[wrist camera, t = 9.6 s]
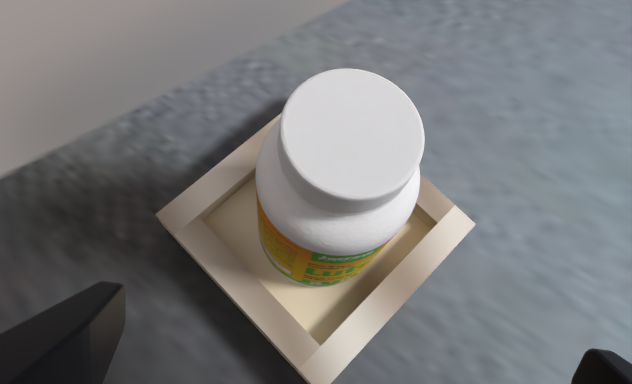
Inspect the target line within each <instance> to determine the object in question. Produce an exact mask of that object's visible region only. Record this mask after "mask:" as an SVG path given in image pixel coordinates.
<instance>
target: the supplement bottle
mask: <svg viewBox="0 0 632 384" xmlns="http://www.w3.org/2000/svg"><path fill="white" fill-rule="evenodd" d="M423 150H424V129H423V125H422V121H421V118H420V116H419V113H418V111H417V109H416V108H415V106H414V104H413V103H412V101H411V100H410V98H409V97H408V96H407V95H406V94H405V93H404V92H403V91H402V90H401V89H400V88H399V87H397V86H396V85H395V84H393V83H392V82H390V81H389V80H387V79H385V78H383V77H381V76H379V75H377V74H374V73H371V72H368V71H364V70H359V69H335V70H330V71H326V72H322V73H319V74H317V75H315V76H313V77H311V78H309V79H308V80H306V81H305V82H303V83H302V84H301V85H300V86H299V87H297V88H296V89H295V91H294V92H293V93H292V94H291V96H290V97H289V99H288V100H287V102H286V104H285V106H284V108H283V111H282V114H281V118H280V119H279V120H278V121H277V122H276V123H275V124H274V125H273V126H272V128H271V129H270V130H269V132H268V133H267V135H266V137H265V138H264V140H263V143H262V145H261V147H260V150H259V153H258V157H257V163H256V178H255V181H256V198H257V215H258V232H259V238H260V242H261V246H262V248H263V251H264V253H265V255H266V257H267V259H268V260H269V262H270V263H271V264H272V265H273V267H274V268H275V269H276V270H277V271H278V272H280V273H281V274H282V275H284V276H285V277H286V278H288V279H290V280H292V281H294V282H296V283H298V284H301V285H305V286H310V287H329V286H334V285H338V284H340V283H343V282H345V281H347V280H349V279H351V278H352V277H354V276H355V275H356V274H358V273H359V272H360V271H361V270H363V269H364V268H365V266H366V265H367V264H368V263H369V262H370V261H371V260H372V259H373V258H374V257H375V256H376V255H377V254H378V253H379V252H380V251H381V250H382V249H383V248H384V246H385V245H386V244H387V243H388V242H389V241H390V240H391V239H392V238H393V237H394V236H395V235H396V234H397V233H398V231H399V230H400V229H401V228H402V227H403V225H404V224H405V223H406V221H407V220H408V218H409V217H410V215H411V213H412V211H413V209H414V207H415V204H416V201H417V198H418V194H419V188H420V170H419V163H420V161H421V158H422V154H423Z"/></svg>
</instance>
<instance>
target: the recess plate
mask: <svg viewBox="0 0 632 384" xmlns="http://www.w3.org/2000/svg"><path fill="white" fill-rule="evenodd" d="M281 114H282V113H281ZM281 114H279V115H278V116H277V117H276V118H274V119H273V120H272V121H271V122H269V123H268V124H267V125H266V126H264V127H263V128H262V129H261V130H259V131H258V132H257V133H256V134H254V135H253V136H252V137H251V138H249V139H248V140H247V141H246V142H244V143H243V144H242V145H241V146H240V147H238V148H237V149H236V150H235V151H233V152H232V153H231V154H230V155H228V156H227V157H226V158H225V159H223V160H222V161H221V162H220V163H218V164H217V165H216V166H215V167H213V168H212V169H211V170H210V171H208V172H207V173H206V174H205V175H203V176H202V177H201V178H200V179H199V180H197V181H196V182H195V183H194V184H192V185H191V186H190V187H189V188H187V189H186V190H185V191H184V192H182V193H181V194H180V195H179V196H177V197H176V198H175V199H174V200H172V201H171V202H170V203H169V204H167V205H166V206H165V207H164V208H162V209H161V210H160V211H159V212H158V213H156V214H155V215H156V216H157V218H158V219H159V220H160V222H161V223H162V225H163V226H164V227H165V229H166V230H167V231H168V232H169V233H170V234H171V235H172V236H173V237H174V238H175V239H176V240H177V242H178V243H179V244H180V245H181V246H182V247H183V248H184V249H185V250H186V251H187V252H188V254H189V255H190V256H191V257H192V258H193V259H194V260H195V261H196V262H197V263H198V264H199V266H200V267H201V268H202V269H203V270H204V271H205V272H206V273H207V274H208V275H209V276H210V277H211V279H212V280H213V281H214V282H215V283H216V284H217V285H218V286H219V287H220V288H221V289H222V291H223V292H224V293H225V294H226V295H227V296H228V297H229V298H230V299H231V300H232V301H233V303H234V304H235V305H236V306H237V307H238V308H239V309H240V310H241V311H242V312H243V313H244V314H245V316H246V317H247V318H248V319H249V320H250V321H251V322H252V323H253V324H254V325H255V326H256V328H257V329H258V330H259V331H260V332H261V333H262V334H263V335H264V336H265V337H266V338H267V340H268V341H269V342H270V343H271V344H272V345H273V346H274V347H275V348H276V349H277V350H278V351H279V353H280V354H281V355H282V356H283V357H284V358H285V359H286V360H287V361H288V362H289V363H290V365H291V366H292V367H293V368H294V369H295V370H296V371H297V372H298V373H299V374H300V375H301V376H302V378H303V379H304V380H305V381H306V382H307V383H308V384H331V382H332V381H333V380H334V379H335V378H336V377H337V376H338V375H339V374H340V373H341V372H342V370H343V369H344V368H345V367H346V366H347V365H348V364H349V363H350V362H351V361H352V359H353V358H354V357H355V356H356V355H357V354H358V353H359V352H360V351H361V350H362V349H363V347H364V346H365V345H366V344H367V343H368V342H369V341H370V340H371V339H372V338H373V336H374V335H375V334H376V333H377V332H378V331H379V330H380V329H381V328H382V327H383V326H384V324H385V323H386V322H387V321H388V320H389V319H390V318H391V317H392V316H393V315H394V313H395V312H396V311H397V310H398V309H399V308H400V307H401V306H402V305H403V304H404V302H405V301H406V300H407V299H408V298H409V297H410V296H411V295H412V294H413V293H414V292H415V290H416V289H417V288H418V287H419V286H420V285H421V284H422V283H423V282H424V281H425V279H426V278H427V277H428V276H429V275H430V274H431V273H432V272H433V271H434V270H435V269H436V267H437V266H438V265H439V264H440V263H441V262H442V261H443V260H444V259H445V258H446V256H447V255H448V254H449V253H450V252H451V251H452V250H453V249H454V248H455V247H456V246H457V244H458V243H459V242H460V241H461V240H462V239H463V238H464V237H465V236H466V235H467V233H468V232H469V231H470V230H471V229H472V228H473V227H474V226H475V225H476V224H475V223H474V222H473V221H472V220H471V219H470V218H469V217H468V216H466V215H465V214H464V213H463V212H462V211H461V210H460V209H459V208H458V207H457V206H456V205H454V204H453V203H452V202H451V201H450V200H449V199H448V198H447V197H446V196H445V195H444V194H442V193H441V192H440V191H439V190H438V189H437V188H436V187H435V186H434V185H433V184H432V183H430V182H429V181H428V180H427V179H426V178H425V177H424V176H423V175H422V174H421V173H420V188H419V194H418V198H417V201H416V204H415V207H414V209H413V211H412V213H411V215H410V217H409V218H408V220H407V221H406V223H405V224H404V225H403V227H402V228H401V229H400V230H399V231H398V233H397V234H396V235H395V236H394V237H393V238H392V239H391V240H390V241H389V242H388V243H387V244H386V245H385V246H384V248H383V249H382V250H381V251H380V252H379V253H378V254H377V255H376V256H375V257H374V258H373V259H372V260H371V261H370V262H369V263H368V264H367V265H366V266H365V268H364V269H363V270H361V271H360V272H359V273H358V274H356V275H355V276H354V277H352V278H351V279H349V280H347V281H345V282H343V283H340V284H338V285H334V286H329V287H310V286H305V285H301V284H298V283H296V282H294V281H292V280H290V279H288V278H286V277H285V276H284V275H282V274H281V273H280V272H278V271H277V270H276V269H275V268H274V267H273V265H272V264H271V263H270V262H269V260H268V259H267V257H266V255H265V253H264V251H263V248H262V246H261V242H260V238H259V232H258V215H257V198H256V181H255V178H256V163H257V157H258V153H259V150H260V147H261V145H262V143H263V140H264V138H265V137H266V135H267V133H268V132H269V130H270V129H271V128H272V126H273V125H274V124H275V123H276V122H277V121H278V120H279V119H280V118H281Z"/></svg>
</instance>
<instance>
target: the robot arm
mask: <svg viewBox="0 0 632 384" xmlns="http://www.w3.org/2000/svg"><path fill="white" fill-rule="evenodd" d="M124 325H125V287H124V286H123V285H122V284H121V283H114V282H107V281H101V282H98V283H96V284H94V285H92V286H91V287H89V288H87V289H85V290H83V291H81V292H79V293H77V294H75V295H73V296H71V297H70V298H68V299H66V300H64V301H62V302H60V303H58V304H56V305H54V306H52V307H50V308H49V309H47V310H45V311H43V312H41V313H39V314H37V315H35V316H33V317H31V318H29V319H28V320H26V321H24V322H22V323H20V324H18V325H16V326H14V327H12V328H10V329H8V330H6V331H5V332H3V333H1V334H0V384H102V383H103V380H104V378H105V375H106V373H107V370H108V368H109V365H110V363H111V360H112V358H113V355H114V353H115V350H116V348H117V345H118V343H119V340H120V338H121V335H122V332H123V329H124ZM571 384H632V364H631V363H629V362H628V361H626V360H625V359H623V358H622V357H620V356H619V355H617V354H616V353H614V352H612V351H608V350H601V349H589V350H588V351H586V352H585V354H584V356H583V358H582V360H581V362H580V364H579V366H578V368H577V370H576V372H575V374H574V376H573V378H572V382H571Z"/></svg>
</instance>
